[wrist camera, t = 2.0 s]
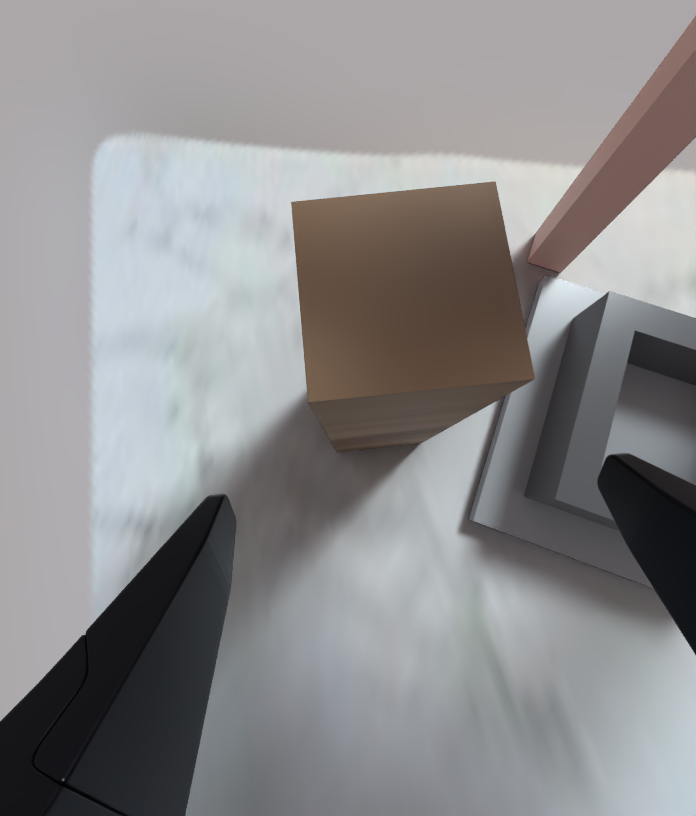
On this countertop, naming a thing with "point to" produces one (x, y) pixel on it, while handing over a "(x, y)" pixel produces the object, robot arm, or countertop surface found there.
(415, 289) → the walnut peg
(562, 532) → the socket
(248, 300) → the countertop surface
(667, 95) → the pink arch frame
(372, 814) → the countertop surface
